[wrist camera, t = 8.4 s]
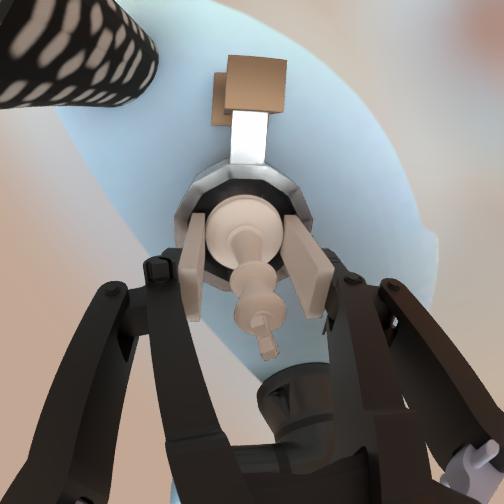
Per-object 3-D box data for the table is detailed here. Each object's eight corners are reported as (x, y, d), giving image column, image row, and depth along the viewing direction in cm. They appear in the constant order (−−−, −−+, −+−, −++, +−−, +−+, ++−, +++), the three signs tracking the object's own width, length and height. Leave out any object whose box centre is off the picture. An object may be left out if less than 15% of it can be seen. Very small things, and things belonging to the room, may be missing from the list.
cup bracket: (290, 266, 22) (300, 290, 19) (184, 266, 21) (179, 291, 18) (309, 96, 16) (327, 92, 13) (183, 88, 15) (175, 81, 12)
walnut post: (266, 127, 23) (300, 132, 13) (211, 125, 23) (204, 126, 13) (269, 77, 21) (306, 47, 11) (214, 74, 21) (210, 38, 10)
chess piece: (224, 276, 19) (230, 406, 10) (191, 213, 16) (161, 329, 7) (291, 249, 18) (348, 367, 9) (266, 182, 16) (325, 268, 7)
